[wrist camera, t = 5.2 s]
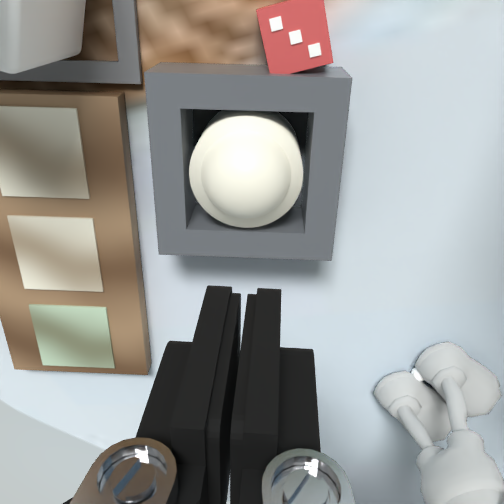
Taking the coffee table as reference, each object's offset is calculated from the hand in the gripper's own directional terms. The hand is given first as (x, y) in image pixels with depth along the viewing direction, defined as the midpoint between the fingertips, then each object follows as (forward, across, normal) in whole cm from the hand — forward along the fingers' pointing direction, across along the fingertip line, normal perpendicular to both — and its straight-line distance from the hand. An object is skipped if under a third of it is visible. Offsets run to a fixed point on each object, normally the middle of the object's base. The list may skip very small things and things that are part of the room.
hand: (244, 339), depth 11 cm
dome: (+16, +1, +1) cm, 16 cm away
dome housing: (+16, +1, +1) cm, 17 cm away
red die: (+17, -1, -5) cm, 17 cm away
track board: (+16, +12, +7) cm, 21 cm away
